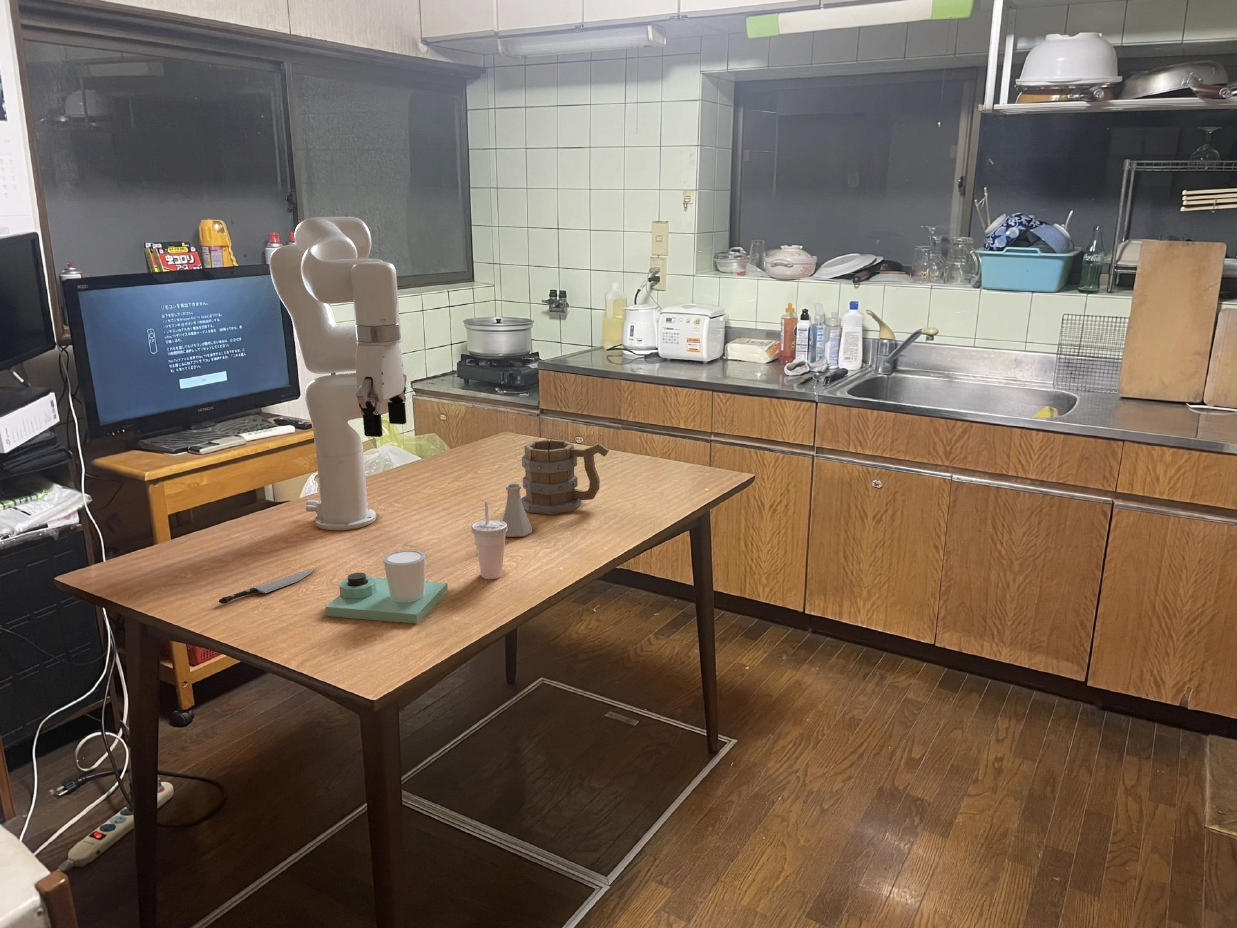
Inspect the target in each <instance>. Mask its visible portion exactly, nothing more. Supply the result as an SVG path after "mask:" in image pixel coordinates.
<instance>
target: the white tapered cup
mask: <svg viewBox="0 0 1237 928" xmlns="http://www.w3.org/2000/svg"><path fill="white" fill-rule="evenodd" d="M426 557H427V555H426V554H425V553H424V552H423V551H421V550H414V549H406V550H405V549H403V550H398V551H393V552H391V553H388V554H387V555H385V556H384V557H383V559H382V561H383V565H384V570H385V576H386V577H385V578H387V582H388V588H389V593H390V598H391V600H393V601H395V602H401V603H406V602H413V601H417V600H419V599H421V598H422V597H424V594H425V581H426Z"/></svg>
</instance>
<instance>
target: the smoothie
mask: <svg viewBox="0 0 1237 928" xmlns="http://www.w3.org/2000/svg"><path fill="white" fill-rule="evenodd" d="M484 518H485V519H484V520H479V521H476V522H474V523H473V524H472V525H471V533H472V534H473V537H474V542H475V546H476V547H475V548H476V554H477V560H478V564H479V570H480V576H481V578H483V579H485V580H495V579H499V578H501V577H502V576H503V568H504V567H503V566H504V556H505V545H506V544H505V542H506V536H505V532H506V531H507V530H508V529H507V524H506V523H505V522H503V521H501V519H490V518H489V501H487V500H485V501H484Z"/></svg>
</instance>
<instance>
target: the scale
mask: <svg viewBox="0 0 1237 928" xmlns="http://www.w3.org/2000/svg"><path fill="white" fill-rule="evenodd" d="M366 581H367V584H365V585H362V586H356V587H353V586H348V577H347V578H344V579H342V580H341V581H339V583H338V586H339V595H338V596H337V597H335V598H334V599H333V600H332V601H331V602H329V603H328V604H327V605H326V606H325V614H326V615H325V616H326V617H334V618H335V617H336V618H337V617H338V618H348V619H359V620H371V621H383V622H393V623H404V624H405V623H407V624H416V625H417V624H419V623H420V622H421V621H422V620H423V619H424V618H425V617H426V616H427V615H428V613H429V612H431V610H432V609H434V607H435V606H436V605H437V604H438V603H439V602H440V601H441V600H442V599H443V598H444V597H445V596H446V595H447V593H448V592H449V586H448V582H440V581H439V582H438V581H426V580H425V594H424V597H422V598H421V599H419V600H417V601H413V602H406V603H401V602H395V601H393V600H391V598H390V593H389V588H388V582H387V577H373V576H370V575H366Z"/></svg>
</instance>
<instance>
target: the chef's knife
mask: <svg viewBox="0 0 1237 928" xmlns="http://www.w3.org/2000/svg"><path fill="white" fill-rule="evenodd" d="M313 570H314V568H311V569H307V570H304V571H303V570H302V571H300V572H297V573H294V574H291V575H288V576H285V577H281V578H279V579H276V580H273V581H270V582H267V583H264V584H260V585H258V586H255V587H251V588H248V589H245V590H241V591H239V592H236V593H234V594H231V595H227V596H222V597H221V598H220V599H218V603H220V604H227V603H229V602H231V601H233V600H236V599H239V598H242V597H245V596H249V595H253V594H256V593H260V594H267V593H270V592H272V591H276V590H278V589H281V588H284V587H286V586H289V585H292V584H295V583H297V582H299V581H301V580H303V579H304V578H306V577H307V576H309V575H310V574H311V573H312V572H313Z"/></svg>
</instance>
